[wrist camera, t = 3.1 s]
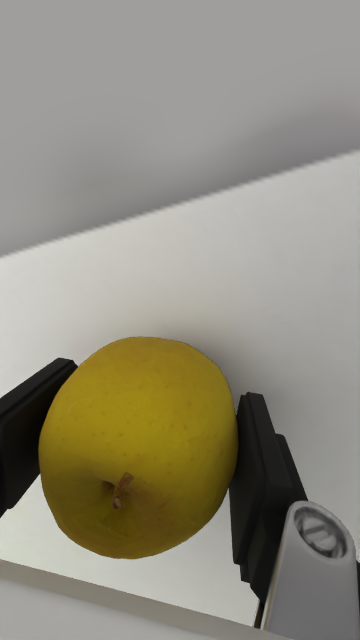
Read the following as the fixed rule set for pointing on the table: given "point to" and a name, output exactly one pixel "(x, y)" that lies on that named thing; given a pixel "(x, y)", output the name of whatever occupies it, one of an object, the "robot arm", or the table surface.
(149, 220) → the table surface
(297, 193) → the table surface
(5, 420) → the robot arm
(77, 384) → the apple
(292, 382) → the table surface
